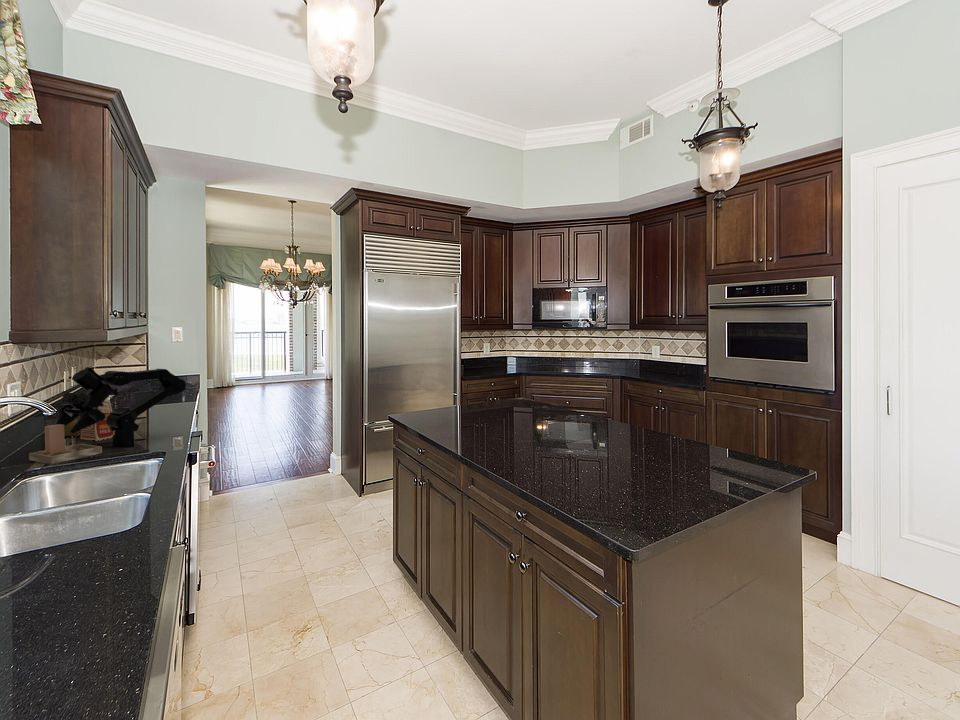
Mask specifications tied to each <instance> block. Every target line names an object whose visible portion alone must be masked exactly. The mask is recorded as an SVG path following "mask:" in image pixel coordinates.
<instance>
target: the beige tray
mask: <svg viewBox="0 0 960 720" xmlns="http://www.w3.org/2000/svg"><path fill="white" fill-rule="evenodd" d="M100 454H103V447H102V446H101V445H93V444H86V443H78V444H71V445H65V451H64V452H59V453H54V454H49V455H45V449H44V450H39V451H35V452H29V453H28V460H29V461H32V462H37V463H42V464H49V465H54V464H58V463H63V462H68V461H73V460H77V459H81V458H82V459H83V458H87V457H90V456H95V455H100Z"/></svg>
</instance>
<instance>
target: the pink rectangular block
mask: <svg viewBox="0 0 960 720" xmlns="http://www.w3.org/2000/svg"><path fill="white" fill-rule="evenodd" d="M65 439H66V436H65V435H64V425H63V424H57V425H55V424H51V425H45V426H44V450H45V455H49V454H54V453H59V452H64V451H65V446H66V444H65V443H66V442H65Z"/></svg>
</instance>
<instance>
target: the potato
mask: <svg viewBox="0 0 960 720" xmlns="http://www.w3.org/2000/svg"><path fill="white" fill-rule="evenodd" d="M78 420H79V419H76V418H75V420H74V421H72V422H71V423H69V424H67V425H66V426H64V437H67V436H74V437H76V436H79V435H81V430H79V431H77V432H75V433H71V432H70V431H71V429H72V428H73V427H74V425H75V424H76V423H77V422H78Z"/></svg>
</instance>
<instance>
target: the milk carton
mask: <svg viewBox="0 0 960 720" xmlns="http://www.w3.org/2000/svg"><path fill="white" fill-rule="evenodd" d="M103 404H104V405H103V406H102V407H100V406H99V407H98V409H99V410H100V411H101V412H103V413H104V414H105V419H104V420H103V421H102V422H98V423H95V424H93V425H91V426H88V427H86V428H84V429H82V430H81V433H80V440H83V439H84V440H85V441H92V440H95V441H96V442H99V441H102V440H103V439H104V440H108V439H113V435H114V432H115V431H112V430H111V428H110V427H109V426H108V425H107V423H106V420H107V417H108V416H109V415H110V414H111V413H110V412H113V408H112V403H111V400H110V399H109V397H108V398H107V399H106V400H105V401H104V402H103ZM107 438H108V439H107ZM98 440H99V441H98Z"/></svg>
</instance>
